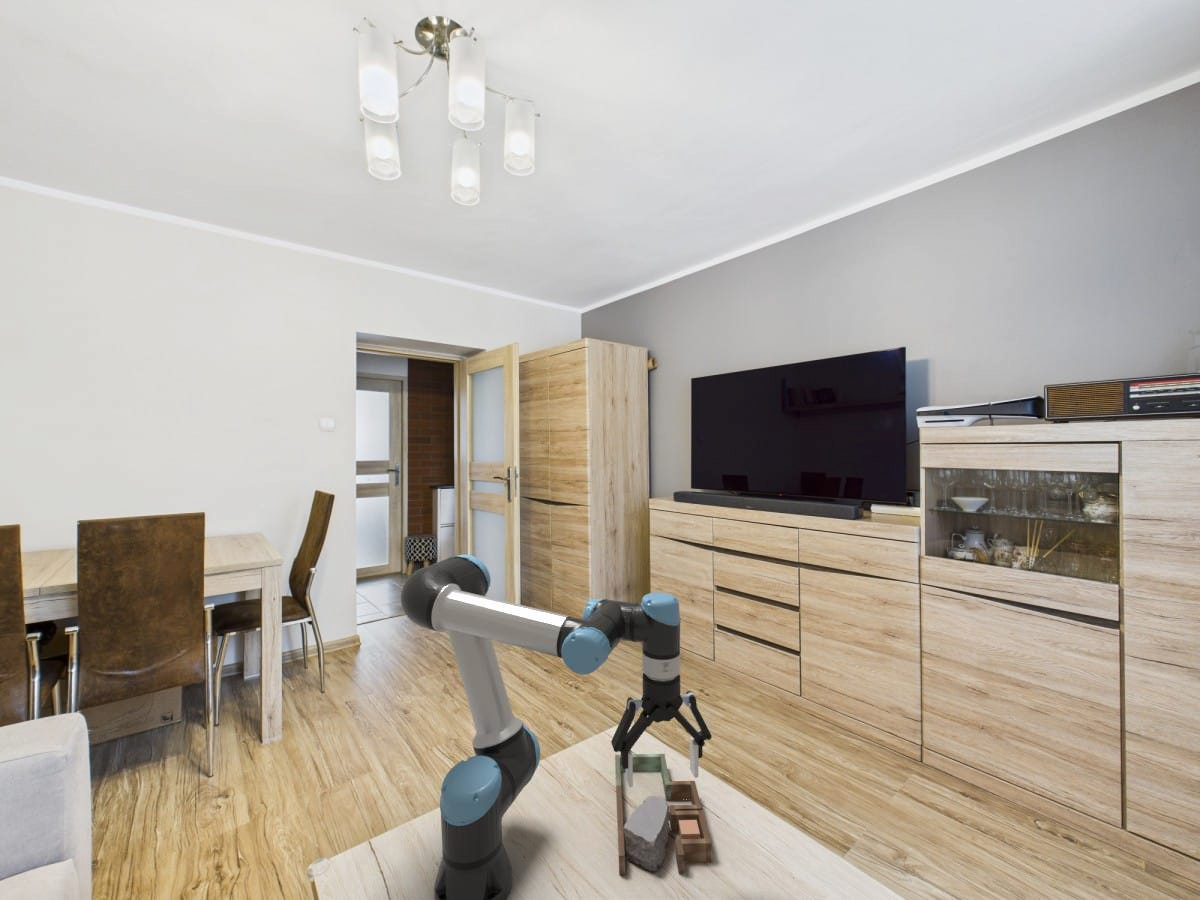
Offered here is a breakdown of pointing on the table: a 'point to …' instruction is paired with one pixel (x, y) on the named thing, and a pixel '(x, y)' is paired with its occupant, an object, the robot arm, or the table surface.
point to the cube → (688, 829)
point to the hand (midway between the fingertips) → (662, 777)
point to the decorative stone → (648, 833)
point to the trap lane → (673, 791)
